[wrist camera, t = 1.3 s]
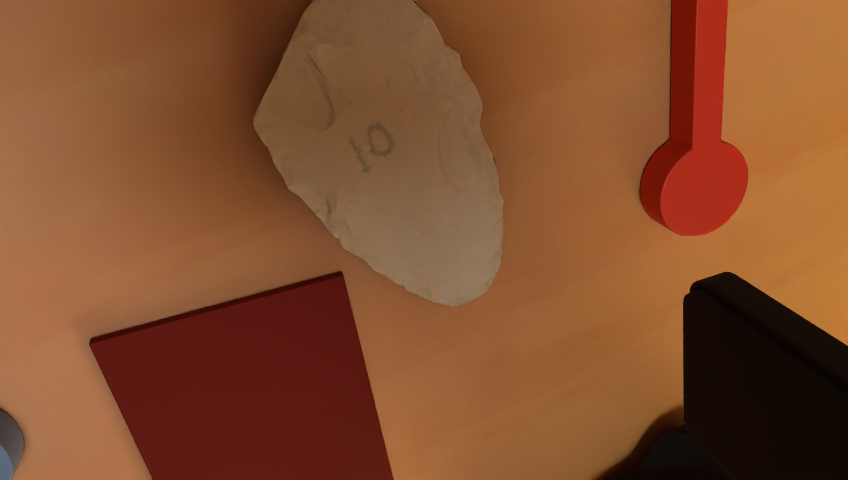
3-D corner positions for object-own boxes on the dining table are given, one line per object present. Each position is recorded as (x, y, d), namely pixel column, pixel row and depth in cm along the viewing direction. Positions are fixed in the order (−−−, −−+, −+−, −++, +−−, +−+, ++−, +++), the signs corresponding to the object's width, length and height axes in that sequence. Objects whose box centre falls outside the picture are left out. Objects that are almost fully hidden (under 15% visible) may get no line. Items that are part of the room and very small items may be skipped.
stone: (398, -55, 22) (412, -55, 20) (546, 244, 29) (567, 264, 27) (203, 65, 22) (201, 75, 20) (397, 338, 29) (408, 364, 27)
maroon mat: (90, 338, 25) (88, 344, 25) (341, 271, 27) (343, 275, 26) (225, 626, 33) (225, 634, 32) (412, 560, 35) (414, 566, 34)
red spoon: (636, -108, 24) (662, -111, 22) (740, -126, 24) (771, -131, 23) (639, 234, 30) (660, 248, 29) (722, 211, 31) (745, 223, 29)
